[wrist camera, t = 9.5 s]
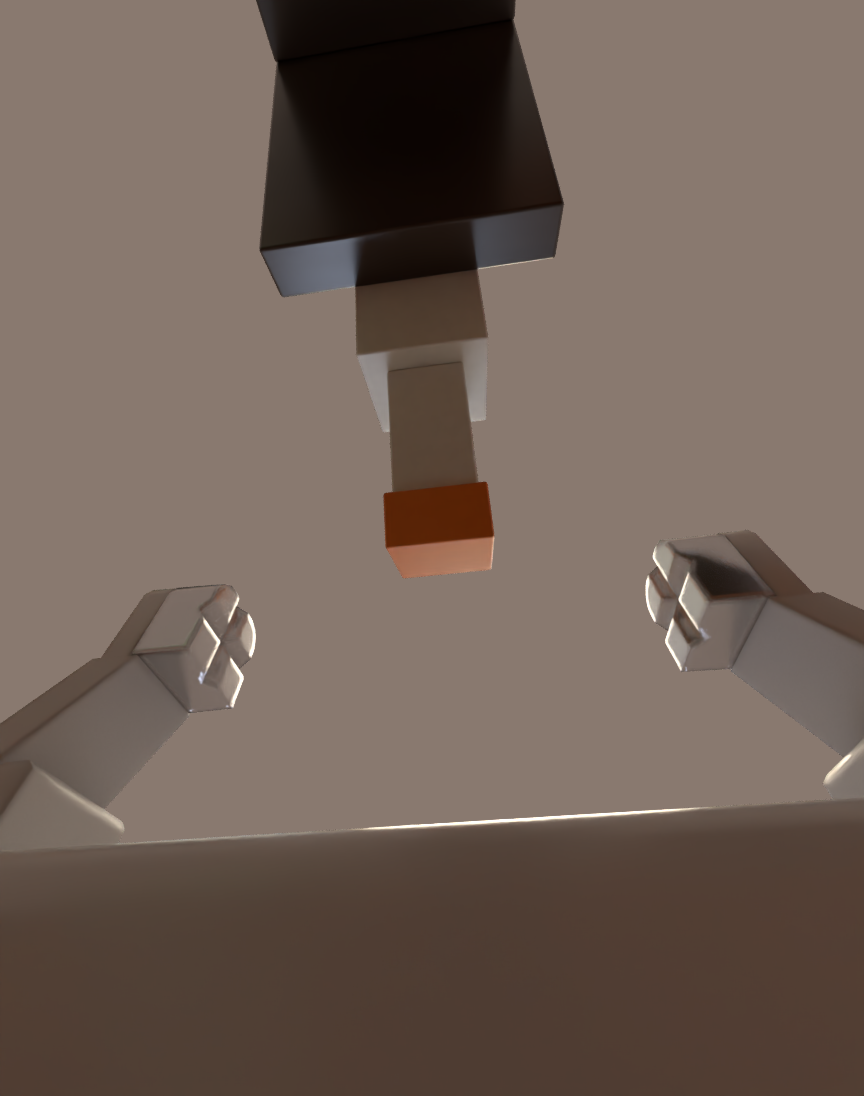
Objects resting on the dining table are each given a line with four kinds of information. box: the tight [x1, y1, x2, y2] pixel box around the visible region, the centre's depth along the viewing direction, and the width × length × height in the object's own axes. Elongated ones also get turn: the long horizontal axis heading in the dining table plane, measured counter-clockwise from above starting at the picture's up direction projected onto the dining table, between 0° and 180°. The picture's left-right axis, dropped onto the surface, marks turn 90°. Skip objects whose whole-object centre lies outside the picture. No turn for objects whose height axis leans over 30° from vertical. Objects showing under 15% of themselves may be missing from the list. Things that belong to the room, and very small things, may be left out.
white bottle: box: [355, 269, 494, 578], centre depth 15 cm, size 18×4×4 cm, turn 176°
